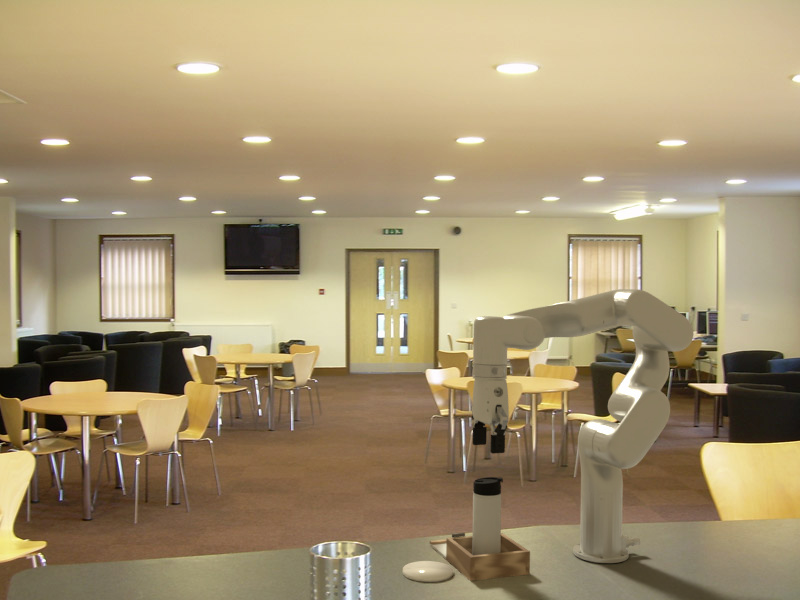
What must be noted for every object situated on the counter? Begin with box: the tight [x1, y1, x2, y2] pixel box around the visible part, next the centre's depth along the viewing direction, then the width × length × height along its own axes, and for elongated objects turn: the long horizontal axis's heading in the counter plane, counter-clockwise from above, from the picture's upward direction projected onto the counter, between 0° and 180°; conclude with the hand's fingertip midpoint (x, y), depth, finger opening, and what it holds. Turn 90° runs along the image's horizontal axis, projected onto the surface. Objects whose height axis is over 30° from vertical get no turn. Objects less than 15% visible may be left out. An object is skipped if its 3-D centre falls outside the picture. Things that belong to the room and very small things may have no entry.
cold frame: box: [429, 532, 531, 582], centre depth 189 cm, size 14×25×6 cm, turn 18°
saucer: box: [402, 560, 454, 583], centre depth 179 cm, size 11×11×1 cm
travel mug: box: [472, 476, 504, 555], centre depth 183 cm, size 6×7×20 cm
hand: (488, 448), depth 183 cm, fingers open, 9 cm apart
